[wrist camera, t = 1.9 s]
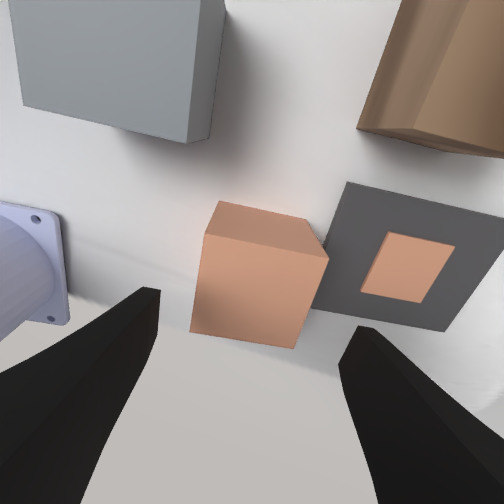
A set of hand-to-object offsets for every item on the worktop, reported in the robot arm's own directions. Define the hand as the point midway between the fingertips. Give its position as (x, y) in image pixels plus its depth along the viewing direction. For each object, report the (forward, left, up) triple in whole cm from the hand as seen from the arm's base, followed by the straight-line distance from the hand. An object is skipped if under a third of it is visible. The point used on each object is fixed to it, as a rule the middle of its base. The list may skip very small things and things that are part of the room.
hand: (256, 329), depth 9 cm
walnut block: (+6, +10, -7) cm, 14 cm away
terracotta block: (0, 0, -7) cm, 7 cm away
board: (+9, +1, -7) cm, 11 cm away
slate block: (-6, +8, -7) cm, 12 cm away
